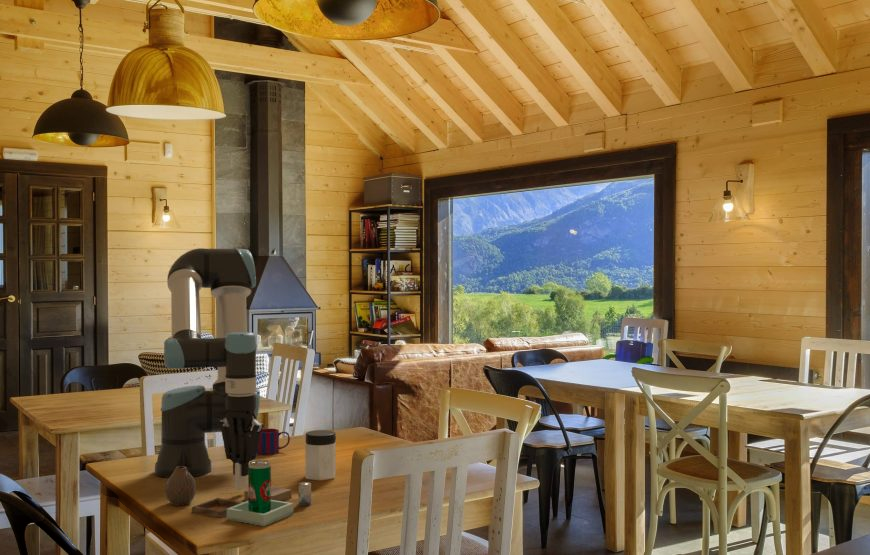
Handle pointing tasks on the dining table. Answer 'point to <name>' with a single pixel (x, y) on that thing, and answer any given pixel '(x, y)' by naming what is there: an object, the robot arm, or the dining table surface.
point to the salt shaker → (304, 494)
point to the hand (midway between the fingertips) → (240, 488)
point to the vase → (180, 487)
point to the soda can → (259, 486)
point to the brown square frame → (204, 506)
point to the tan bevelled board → (276, 494)
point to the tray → (276, 513)
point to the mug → (270, 442)
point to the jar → (320, 455)
